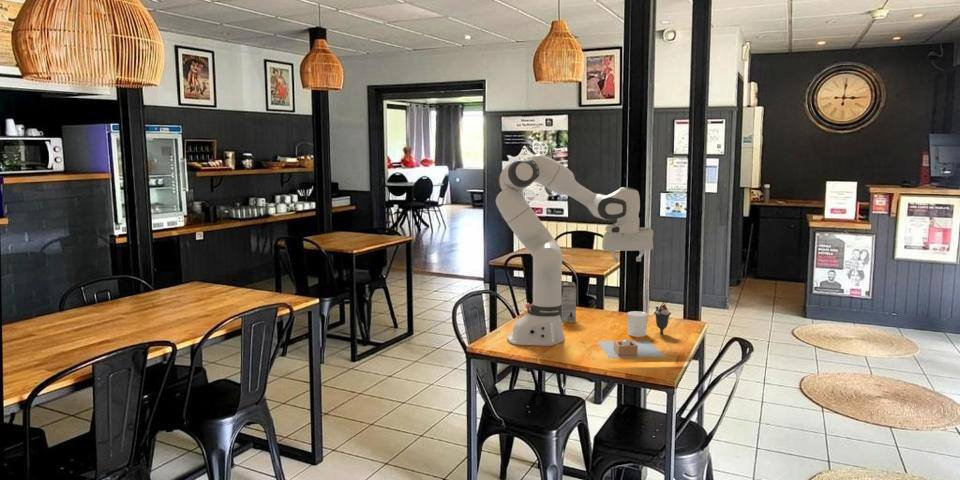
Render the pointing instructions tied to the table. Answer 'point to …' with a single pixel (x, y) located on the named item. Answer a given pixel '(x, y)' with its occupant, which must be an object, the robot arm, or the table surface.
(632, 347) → the collar
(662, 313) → the sundae
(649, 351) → the plate
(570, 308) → the coffee box
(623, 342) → the piston
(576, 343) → the table surface
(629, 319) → the white cup
